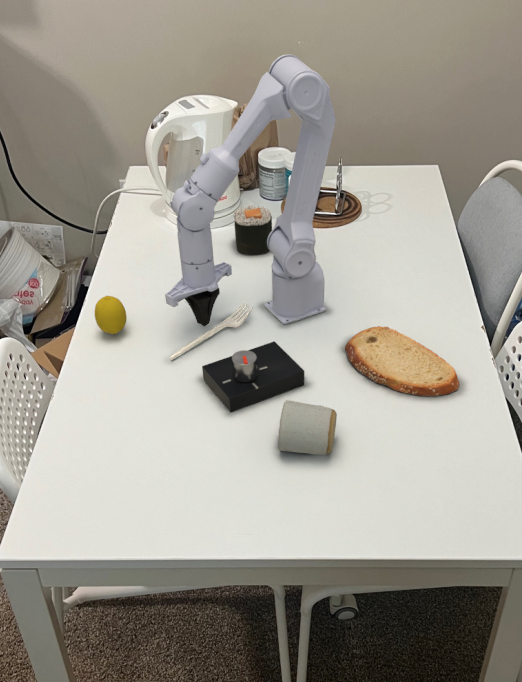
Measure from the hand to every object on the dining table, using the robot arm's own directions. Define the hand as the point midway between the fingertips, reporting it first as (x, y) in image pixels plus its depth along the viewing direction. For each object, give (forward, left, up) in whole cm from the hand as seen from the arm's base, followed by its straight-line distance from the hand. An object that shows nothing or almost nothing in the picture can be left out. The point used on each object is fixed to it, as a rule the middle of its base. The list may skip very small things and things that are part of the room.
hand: (203, 323), depth 138 cm
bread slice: (-24, +28, -1) cm, 37 cm away
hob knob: (+2, +20, +2) cm, 21 cm away
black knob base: (0, +19, -1) cm, 19 cm away
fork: (0, +3, -1) cm, 4 cm away
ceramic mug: (0, +36, -1) cm, 36 cm away
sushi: (-23, -23, -1) cm, 32 cm away
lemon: (+15, -7, -1) cm, 16 cm away
